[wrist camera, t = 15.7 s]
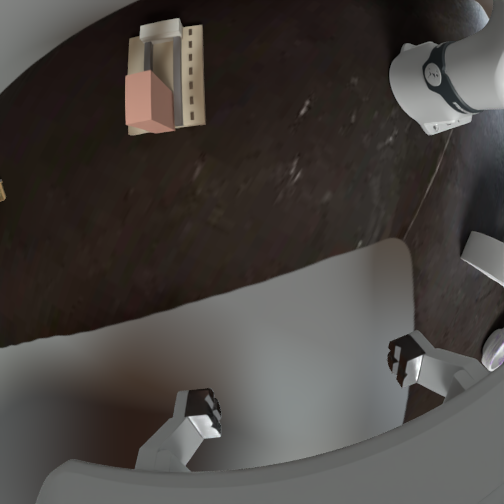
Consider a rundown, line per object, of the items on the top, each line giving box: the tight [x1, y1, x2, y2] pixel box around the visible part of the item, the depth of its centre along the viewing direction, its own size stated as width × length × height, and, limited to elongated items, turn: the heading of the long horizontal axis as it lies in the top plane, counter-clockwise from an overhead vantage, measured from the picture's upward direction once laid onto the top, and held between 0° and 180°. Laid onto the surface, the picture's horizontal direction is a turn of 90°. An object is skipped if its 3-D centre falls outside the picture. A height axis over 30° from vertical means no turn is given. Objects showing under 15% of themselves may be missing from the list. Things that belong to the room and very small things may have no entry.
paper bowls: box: [482, 328, 504, 371], centre depth 57 cm, size 15×15×8 cm
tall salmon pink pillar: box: [125, 70, 175, 133], centre depth 30 cm, size 3×6×12 cm, turn 3°
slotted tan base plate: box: [128, 18, 206, 135], centre depth 32 cm, size 12×18×5 cm
